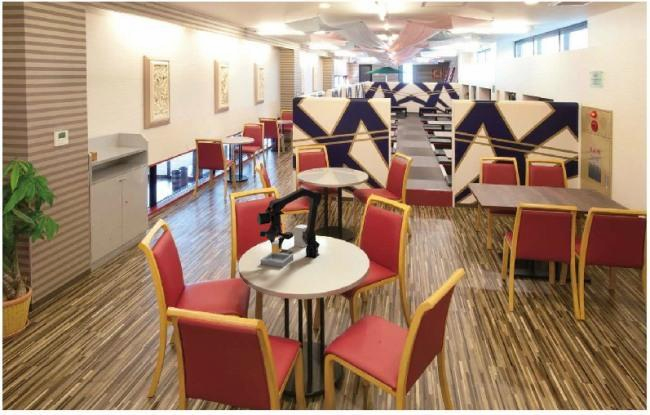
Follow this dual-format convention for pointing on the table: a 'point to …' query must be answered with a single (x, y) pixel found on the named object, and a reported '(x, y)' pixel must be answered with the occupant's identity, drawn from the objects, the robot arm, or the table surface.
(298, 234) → the supplement box
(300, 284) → the table surface
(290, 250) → the holder
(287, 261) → the tray
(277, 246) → the white and orange block
